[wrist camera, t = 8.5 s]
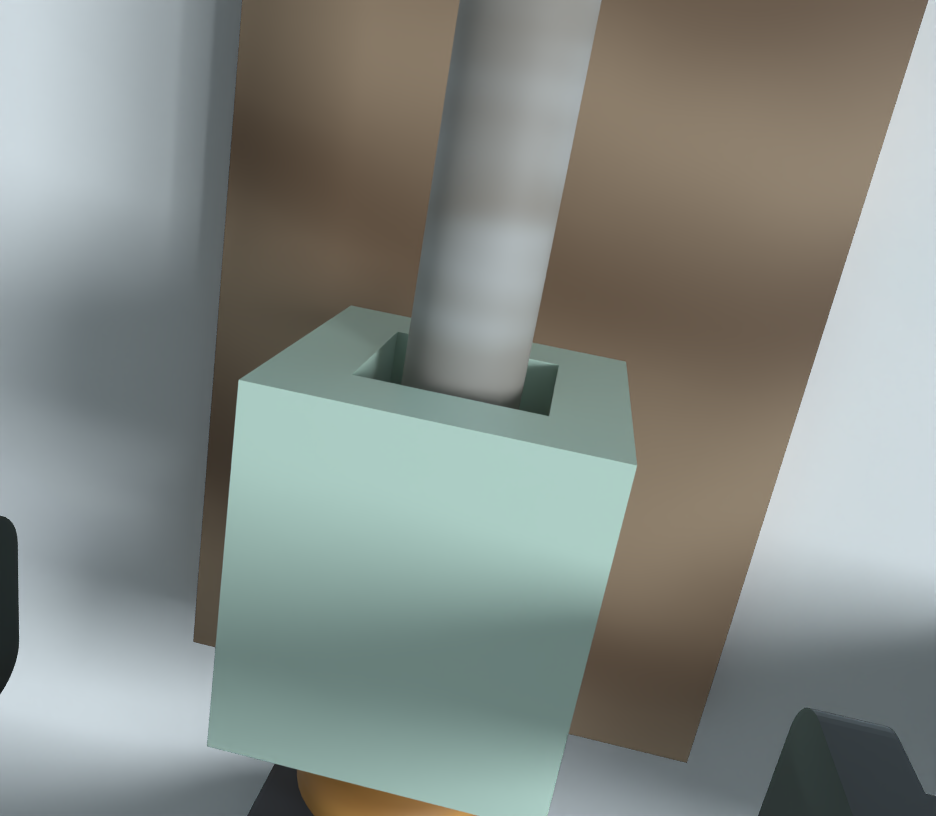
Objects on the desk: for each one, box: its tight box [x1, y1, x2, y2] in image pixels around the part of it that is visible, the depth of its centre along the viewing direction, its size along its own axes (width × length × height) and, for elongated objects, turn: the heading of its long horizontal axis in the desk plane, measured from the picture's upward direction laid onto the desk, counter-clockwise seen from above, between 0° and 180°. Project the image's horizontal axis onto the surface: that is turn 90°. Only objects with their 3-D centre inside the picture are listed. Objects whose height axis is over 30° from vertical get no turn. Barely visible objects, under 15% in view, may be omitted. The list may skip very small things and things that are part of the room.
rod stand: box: [193, 0, 928, 816], centre depth 13 cm, size 22×12×10 cm, turn 170°
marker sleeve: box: [207, 306, 637, 816], centre depth 12 cm, size 5×4×4 cm
